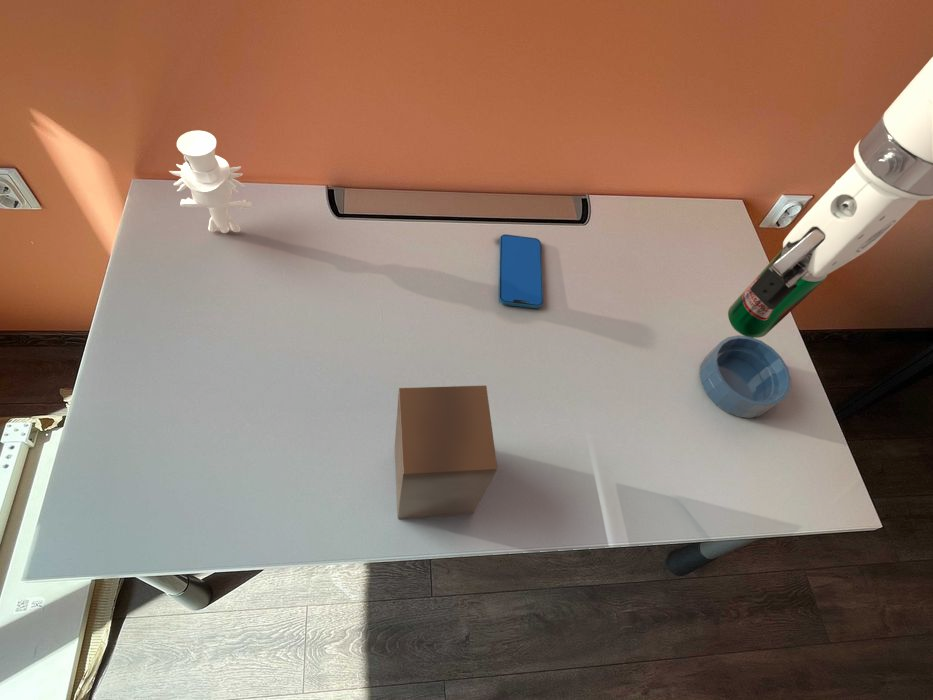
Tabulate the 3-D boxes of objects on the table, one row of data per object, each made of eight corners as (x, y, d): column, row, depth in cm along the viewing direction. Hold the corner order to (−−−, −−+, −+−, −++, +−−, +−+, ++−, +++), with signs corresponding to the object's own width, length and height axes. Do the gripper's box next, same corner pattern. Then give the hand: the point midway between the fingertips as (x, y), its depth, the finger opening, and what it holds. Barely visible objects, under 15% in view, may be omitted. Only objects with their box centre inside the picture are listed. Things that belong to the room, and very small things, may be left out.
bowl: (786, 396, 93) (806, 382, 89) (737, 432, 89) (756, 419, 84) (732, 340, 98) (748, 323, 93) (683, 371, 93) (697, 356, 89)
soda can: (717, 308, 69) (776, 240, 59) (752, 301, 70) (816, 234, 60) (739, 344, 66) (804, 279, 56) (774, 336, 68) (845, 272, 58)
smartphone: (541, 238, 102) (543, 306, 94) (539, 242, 103) (542, 310, 95) (500, 233, 102) (499, 301, 94) (499, 237, 102) (498, 305, 94)
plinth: (465, 442, 82) (486, 385, 66) (473, 513, 77) (497, 469, 61) (394, 446, 80) (398, 387, 65) (397, 519, 75) (403, 474, 60)
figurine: (260, 215, 98) (239, 126, 82) (256, 250, 94) (233, 164, 78) (195, 213, 96) (160, 122, 81) (188, 249, 92) (150, 160, 77)
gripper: (889, 218, 43) (753, 346, 58) (1001, 154, 49) (852, 284, 64) (812, 154, 45) (701, 293, 61) (927, 101, 52) (801, 238, 67)
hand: (780, 287), depth 62 cm, fingers closed on soda can, 5 cm apart
